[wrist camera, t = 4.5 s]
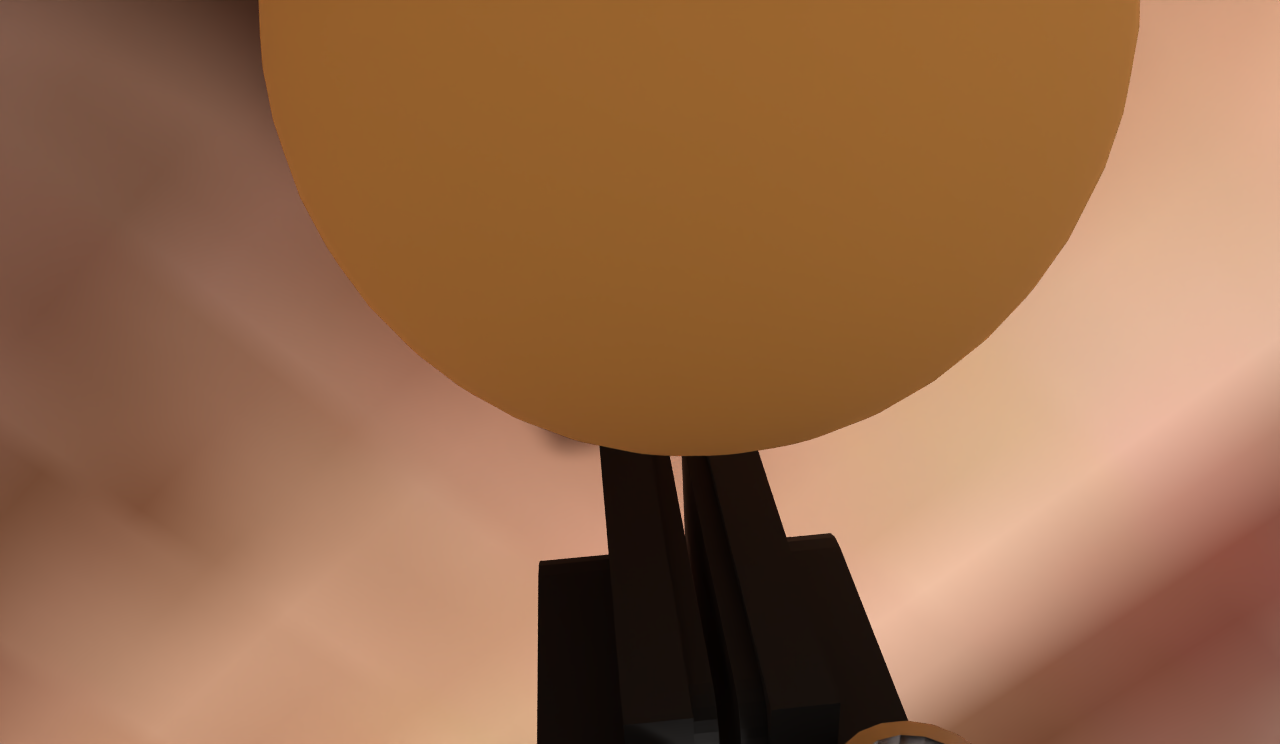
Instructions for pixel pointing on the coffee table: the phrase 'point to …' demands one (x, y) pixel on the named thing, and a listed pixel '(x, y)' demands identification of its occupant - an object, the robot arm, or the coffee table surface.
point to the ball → (695, 193)
